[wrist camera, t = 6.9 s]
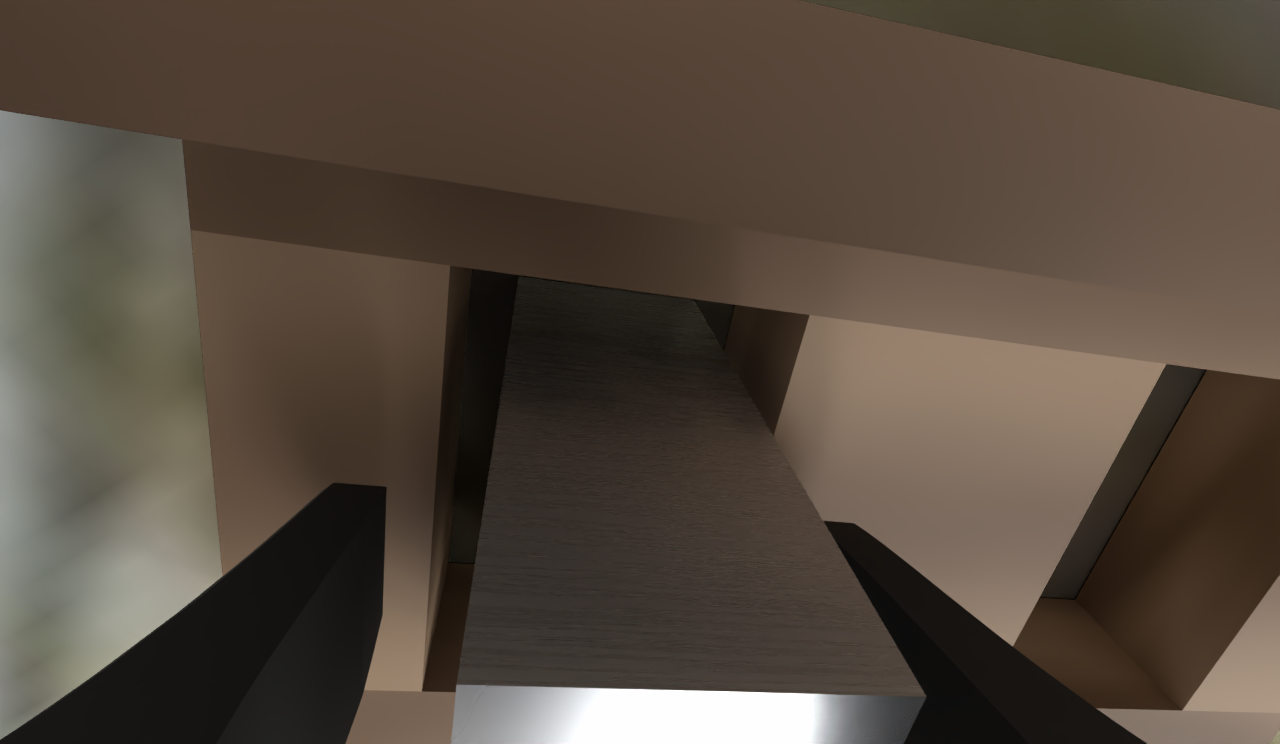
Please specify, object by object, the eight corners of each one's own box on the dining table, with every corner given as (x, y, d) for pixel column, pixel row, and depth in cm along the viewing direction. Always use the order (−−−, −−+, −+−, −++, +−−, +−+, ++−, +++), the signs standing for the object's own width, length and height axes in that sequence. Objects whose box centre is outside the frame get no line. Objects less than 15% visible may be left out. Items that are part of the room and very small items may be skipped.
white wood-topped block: (632, 577, 14) (716, 1123, 7) (486, 569, 13) (412, 1151, 6) (693, 299, 12) (925, 696, 4) (519, 276, 11) (456, 684, 4)
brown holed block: (1142, 650, 17) (1417, 926, 12) (302, 612, 13) (133, 988, 8) (1437, 196, 12) (2119, 301, 7) (281, -47, 9) (-156, -218, 3)
